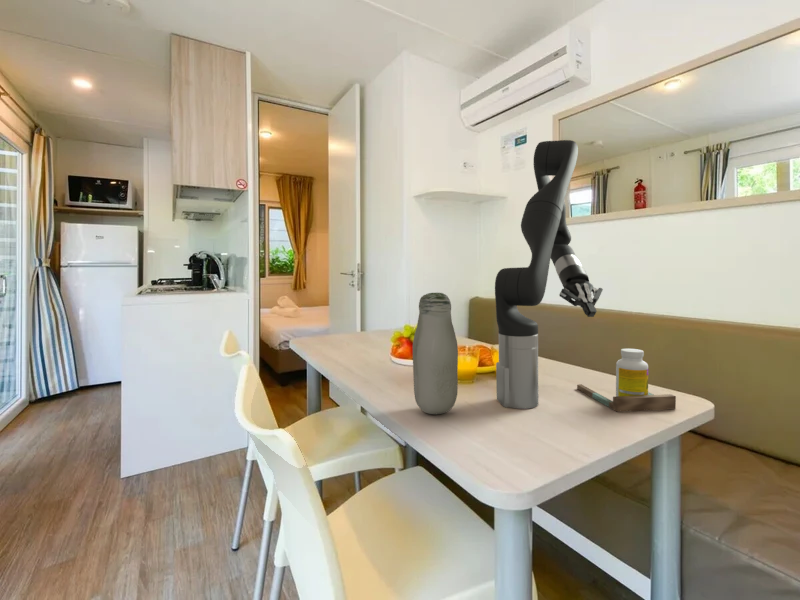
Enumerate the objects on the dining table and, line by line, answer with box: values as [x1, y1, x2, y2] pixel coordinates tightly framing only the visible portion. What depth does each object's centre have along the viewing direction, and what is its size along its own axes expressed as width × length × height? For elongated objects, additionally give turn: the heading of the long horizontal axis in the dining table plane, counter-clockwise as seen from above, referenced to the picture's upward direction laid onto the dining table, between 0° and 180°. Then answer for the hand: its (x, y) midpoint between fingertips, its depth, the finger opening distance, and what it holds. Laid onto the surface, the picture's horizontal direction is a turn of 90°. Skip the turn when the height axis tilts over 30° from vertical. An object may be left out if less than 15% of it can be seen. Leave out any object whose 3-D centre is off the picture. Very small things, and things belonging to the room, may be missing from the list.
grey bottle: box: [412, 292, 459, 415], centre depth 88 cm, size 10×10×28 cm
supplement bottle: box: [615, 347, 649, 397], centre depth 91 cm, size 7×7×13 cm
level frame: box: [576, 383, 677, 413], centre depth 95 cm, size 14×18×3 cm
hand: (592, 315), depth 107 cm, fingers closed
